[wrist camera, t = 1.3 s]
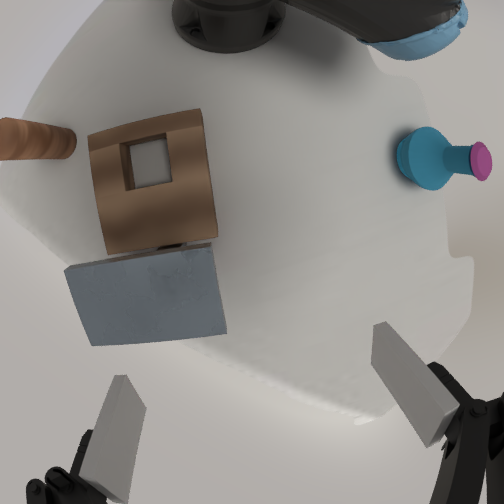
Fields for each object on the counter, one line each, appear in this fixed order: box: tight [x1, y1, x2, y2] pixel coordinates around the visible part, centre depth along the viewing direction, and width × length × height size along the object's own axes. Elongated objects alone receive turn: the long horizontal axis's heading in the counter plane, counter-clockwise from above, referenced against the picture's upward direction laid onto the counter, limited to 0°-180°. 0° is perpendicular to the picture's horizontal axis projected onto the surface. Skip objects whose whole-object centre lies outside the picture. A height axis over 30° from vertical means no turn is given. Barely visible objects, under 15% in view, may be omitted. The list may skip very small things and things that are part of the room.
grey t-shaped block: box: [64, 242, 227, 346], centre depth 28 cm, size 7×12×17 cm, turn 97°
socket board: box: [88, 108, 218, 255], centre depth 31 cm, size 15×14×4 cm
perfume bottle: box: [397, 127, 492, 191], centre depth 29 cm, size 9×9×15 cm
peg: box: [0, 117, 77, 161], centre depth 23 cm, size 4×4×14 cm
